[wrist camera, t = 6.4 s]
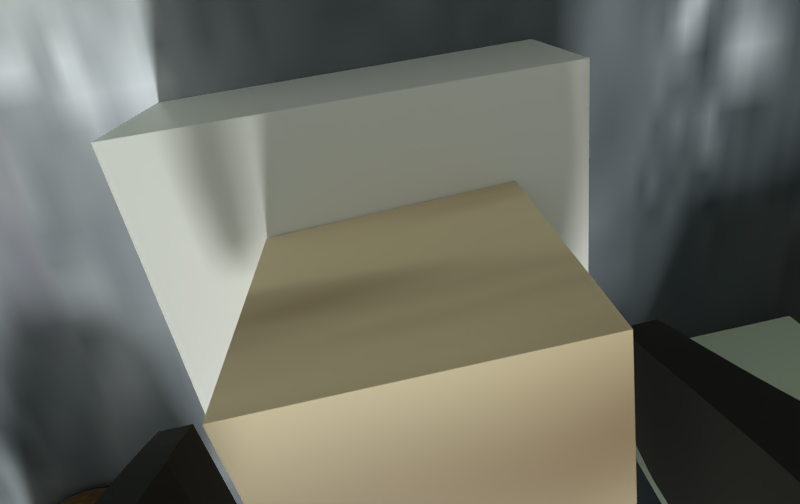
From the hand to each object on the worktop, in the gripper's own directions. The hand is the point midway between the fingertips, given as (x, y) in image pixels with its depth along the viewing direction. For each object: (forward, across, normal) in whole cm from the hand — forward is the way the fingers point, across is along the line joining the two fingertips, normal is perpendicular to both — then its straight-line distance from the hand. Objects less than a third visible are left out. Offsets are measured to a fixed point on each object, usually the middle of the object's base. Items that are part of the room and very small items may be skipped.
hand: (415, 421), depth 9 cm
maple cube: (+3, 0, 0) cm, 3 cm away
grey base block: (+7, 0, 0) cm, 7 cm away
